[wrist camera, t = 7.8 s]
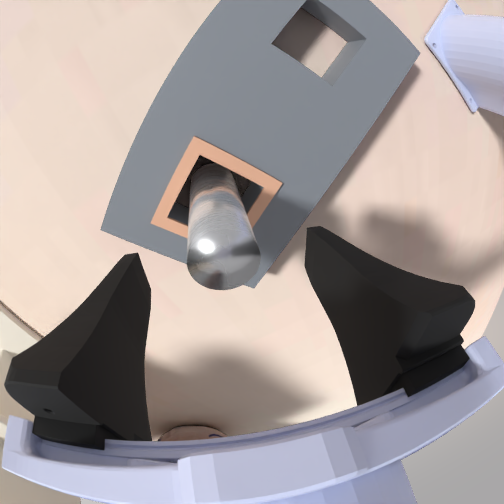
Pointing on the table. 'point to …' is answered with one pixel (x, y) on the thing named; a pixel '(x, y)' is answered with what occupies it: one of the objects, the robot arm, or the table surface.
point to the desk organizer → (4, 482)
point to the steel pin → (219, 231)
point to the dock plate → (257, 120)
